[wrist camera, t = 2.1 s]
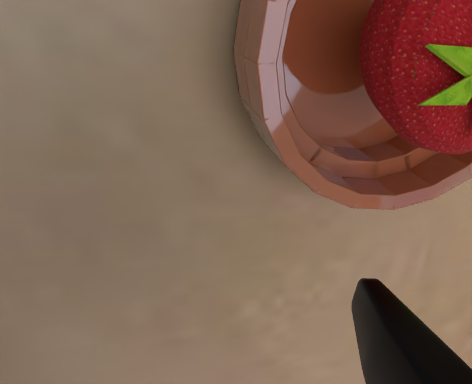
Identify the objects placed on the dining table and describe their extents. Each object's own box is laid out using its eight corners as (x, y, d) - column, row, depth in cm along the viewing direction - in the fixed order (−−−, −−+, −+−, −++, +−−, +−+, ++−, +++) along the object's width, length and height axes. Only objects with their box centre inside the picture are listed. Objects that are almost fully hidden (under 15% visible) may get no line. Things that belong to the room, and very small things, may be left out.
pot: (388, 203, 25) (437, 242, 21) (184, 115, 20) (197, 146, 16) (538, -21, 21) (634, -25, 17) (330, -209, 16) (399, -280, 12)
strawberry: (350, 139, 22) (496, 236, 13) (288, 11, 18) (432, 27, 9) (443, 77, 21) (657, 133, 13) (399, -67, 18) (655, -125, 9)
